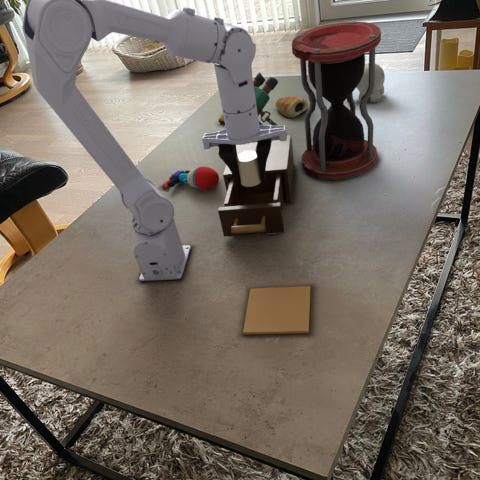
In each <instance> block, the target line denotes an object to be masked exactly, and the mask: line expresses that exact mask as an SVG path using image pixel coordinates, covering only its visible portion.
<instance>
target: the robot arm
mask: <svg viewBox="0 0 480 480" xmlns="http://www.w3.org/2000/svg"><path fill="white" fill-rule="evenodd" d="M23 15H24V16H23V21H22V27H21V29H22V33H23V36H24V39H25V40H24V41H25V43H26V49H27V50H26V51H27V55H28V61H29V62H28V63H29V67H30V73H31V79H32V84H33V86H34V88H35V90H36V91H37V92H38V93H39V95H41V97H42V98H43V100H44V101H45V102H46V103H47V105H49V107H50V108H51V109H52V110H53V112H54V113H55V114H56V115H57V116H58V118H59V119H60V120H61V121H62V123H63V124H64V125H65V126H66V127H67V128H68V131H70V133H72V135H73V136H74V137H75V139H76V140H77V141H78V142H79V143H80V145H81V146H82V147H83V149H85V151H86V152H87V153H88V154H89V156H90V157H91V158H92V160H94V162H95V163H96V164H97V165H98V167H99V168H100V169H101V170H102V171H103V173H104V174H105V175H106V176H107V177H108V179H109V180H110V181H111V182H112V184H113V185H114V186H115V188H116V189H117V190H118V192H119V194H120V199H121V202H122V205H123V206H124V207H125V208H126V209H127V210H128V211H129V212H130V213H131V214H132V220H131V221H132V223H131V225H132V228H133V231H134V233H135V245H134V249H133V256H134V258H135V260H136V263H137V265H138V268H139V270H140V275H139V277H138V280H139V281H141V282H146V281H147V282H150V281H168V280H180V279H182V277H183V274H184V271H185V267H186V265H187V261H188V258H189V255H190V252H191V249H192V246H191V245H189V244H184V245H183V244H182V240H181V237H180V234H179V231H178V230H179V229H178V227H177V224H176V222H175V208H174V205H173V202H172V201H171V200H169V198H167V197H166V196H164V195H163V193H161V191H160V190H159V189H158V188H157V187H156V186H155V184H154V183H153V182H152V181H151V180H150V179H149V178H146V177H144V175H143V174H142V173H141V171H140V170H139V168H138V167H137V166H136V165H135V163H134V162H133V160H132V159H131V158H130V157H129V156H128V154H127V152H126V151H125V150H124V149H123V148H122V146H121V145H120V143H119V142H118V141H117V140H116V138H115V137H114V135H113V134H112V133H111V131H110V130H109V129H108V127H107V126H106V125H105V123H104V122H103V121H102V119H101V118H100V116H99V115H98V114H97V113H96V111H95V110H94V109H93V107H92V106H91V105H90V103H89V102H88V101H87V99H86V98H85V96H84V95H83V94H82V93H81V91H80V90H79V89H78V87H77V85H76V82H77V74H78V69H79V65H80V63H81V60H83V57H84V56H85V53H86V52H87V50H88V48H89V45H90V44H91V41H92V40H94V41H96V42H100V41H102V40H103V39H104V38H107V36H108V35H110V34H112V33H115V34H120V35H126V36H131V37H135V38H139V39H145V40H149V41H155V42H159V43H162V45H163V46H164V48H165V50H166V52H167V53H168V54H169V55H171V56H174V57H179V58H182V59H183V58H184V59H187V60H193V61H197V62H202V63H205V64H213V67H214V71H215V72H214V73H215V77H216V83H217V84H216V85H217V88H218V95H219V99H220V104H221V109H222V110H221V111H222V113H223V116H224V121H225V123H224V126H225V129H222V130H217V131H213V132H209V133H203V136H202V139H201V141H202V145H203V149H204V150H210V149H211V148H215V147H218V152H217V153H218V154H217V155H218V156H219V158H220V159H221V160H222V162H223V163H224V164H225V166H226V165H227V166H228V168H229V169H230V171H231V173H232V174H233V176H234V178H235V181H236V184H240V176H239V171H238V165H237V160H236V157H237V149H236V145H243V144H248V143H254V142H257V146H256V154H257V158H258V163H259V168H260V179H261V182H265V178H266V162H267V158H268V155H269V152H270V149H271V143H272V141H274V140H280V141H286V139H287V135H288V134H287V125H286V124H284V125H283V124H282V125H278V126H272V125H271V124H270V125H269V124H263V125H259V122H260V121H259V120H260V119H259V116H258V113H257V105H256V98H255V91H254V84H253V81H254V77H253V68H252V66H253V62H254V59H255V57H256V52H257V45H256V43H254V42H253V39H252V36H251V34H250V33H249V32H248V30H246V29H244V28H242V27H239V26H237V25H233V24H230V23H227V22H225V19H224V18H221V17H218V16H215V17H214V19H212V18H209V17H206V16H201V15H198V14H196V10H195V9H194V8H191V7H187V6H183V7H182V10H181V9H177V8H176V9H174V10H172V11H171V12H169V14H167V15H165V16H162V15H158V14H155V13H151V12H148V11H145V10H142V9H138V8H135V7H132V6H129V5H125V4H123V3H119V2H116V1H113V0H27V1H26V3H25V8H24V13H23Z"/></svg>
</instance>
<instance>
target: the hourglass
mask: <svg viewBox="0 0 480 480" xmlns="http://www.w3.org/2000/svg"><path fill="white" fill-rule="evenodd" d="M381 41H382V31H381V28H380V27H379V25H376V24H374V23H370V22H366V21H356V20H353V21H341V22H334V23H327V24H324V25H320V26H319V25H318V26H316V27H312V28H310V29H308V30H305V31H303V32H301V33H299V34H298V35H297V36H295V38H293V40H292V41H291V54H292V55H293V56H294V57H295V58H296V59H299V64H300V76H301V77H300V78H301V79H300V80H301V85H302V88H303V90H304V92H305V93H306V94H307V97H308V100H309V106H308V109H307V110H306V113H305V116H304V130H305V142H306V149H305V150H304V152H303V153H302V154H301V167H302V169H303V170H304V172H305V173H306V174H308V175H309V176H311V177H314V178H317V179H320V180H329V181H336V180H337V181H338V180H346V179H347V180H348V179H351V178H355V177H357V176H360V175H363V174H364V173H366V172H368V171H370V170H371V169H372V168H373V167H374V166H375V164H376V163H377V160H378V151H377V146H375V145H374V123H373V120H372V118H371V116H370V115H369V113H368V108H367V103H368V101H369V100H368V98H369V99H370V96H371V94H372V93H373V90H374V84H375V64H376V48H377V47H378V46H379V44H380V42H381ZM366 53H368V63H369V86H368V89H367V91H366V93H365V94H364V95H363V96H362V98H361V102H359V105H358V108H359V112H360V115H361V117H362V118H363V120H364V121H365V124H366V126H367V140H366V139H365V131H364V125H363V123H362V121H361V119H360V118H359V117H358V116H357V115H356V109H357V108H356V102H355V99H354V96H353V93H354V91H355V90H356V89H357V88H356V87H357V86H358V84H359V83H360V81H361V79H362V77H363V75H364V69H365V65H366V55H365V54H366ZM308 78H309V79H308ZM308 80H309V82H310V84H311V85H312V87H313V89H314V90H315V92H314V90H313V89H312V88H311V86H310V84H309V82H308ZM324 99H325V101H326V102H328V103H330V106H329V108H327V106H326V105H325V102H324ZM367 100H368V101H367ZM345 101H346V102H347V103H348V106H349V107H347V105H345V103H344V102H345ZM316 107H318V108H319V110H320V119H319V120H318V121H317V123H316V124H315V125H314V129H313V133H312V132H311V130H312V129H311V117H312V114H313V113H314V112H315V111H316Z"/></svg>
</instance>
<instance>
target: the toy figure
mask: <svg viewBox="0 0 480 480" xmlns="http://www.w3.org/2000/svg"><path fill="white" fill-rule="evenodd" d="M219 181H220V175H219V173H218V172H217V171H216V170H215V169H214V168H211V167H209V166H204V165H203V166H202V165H201V166H198V167H193V168H192V169H191V170H185V171H184V170H177V171H176V172H174V173H172V174H171V176H169V178H168V180H167V181H165V182H164V183H163V184H162V185H161V188H168V187H169V188H173V187H175V186H176V185H179V184H188V185H189V186H190V187H191V188H194V189H198V190H201V191H206V190H210V189H213V188H214V187H216V186H217V185H218V183H219Z"/></svg>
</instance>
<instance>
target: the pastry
mask: <svg viewBox="0 0 480 480" xmlns="http://www.w3.org/2000/svg"><path fill="white" fill-rule="evenodd" d="M275 107H276V108H277V109H278V111H279V113H280V114H282V115H283V116H285V117H286V118H289V119H290V118H291V119H293V118H296V117H298V116H299V115H300V114H303V113H304V112H307V111H308V109H309V103H308V101H307V100H306V99H305V98H303V97H299V96H298V95H289V96H285V97H279V98H278V99H277V100H276V101H275Z"/></svg>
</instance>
